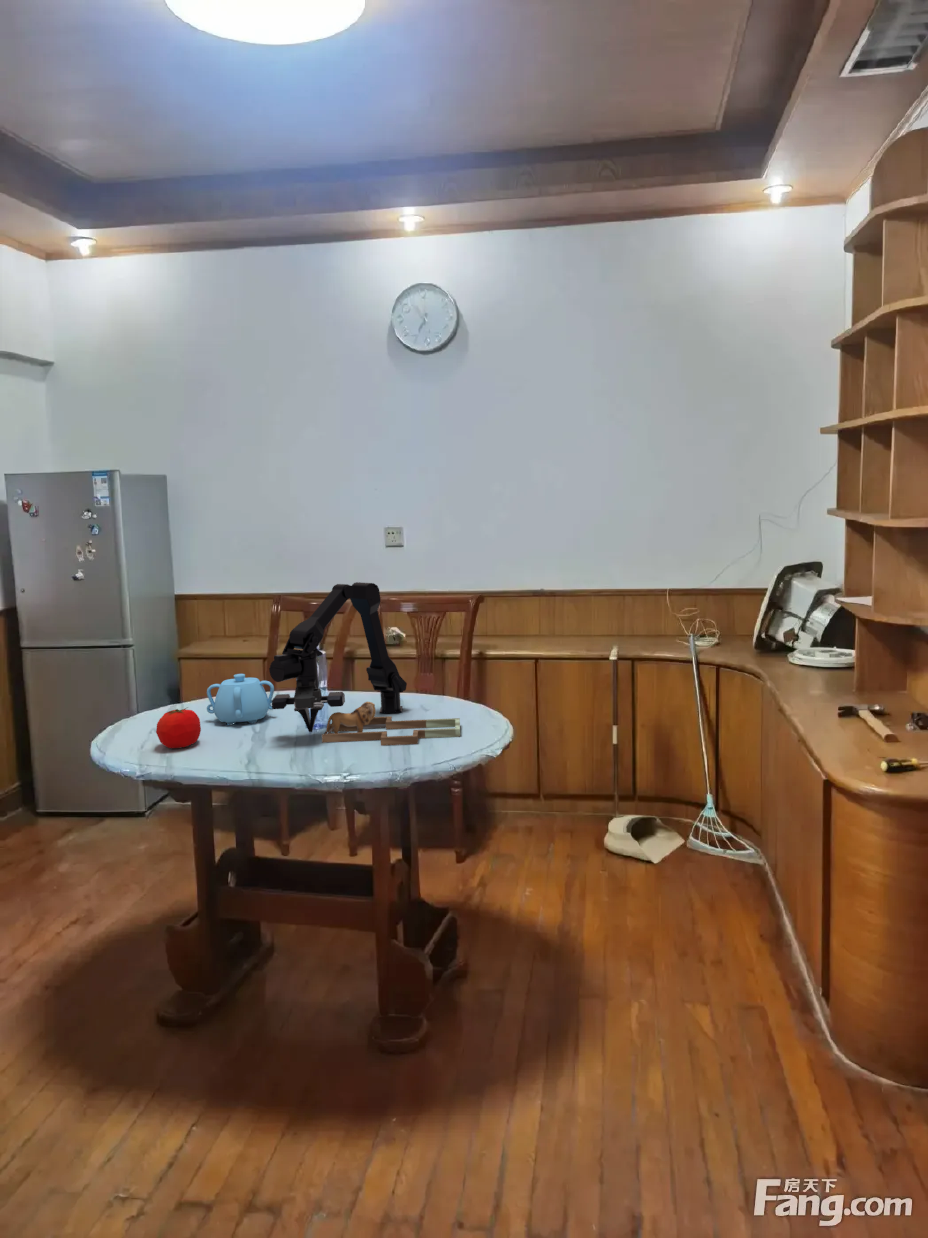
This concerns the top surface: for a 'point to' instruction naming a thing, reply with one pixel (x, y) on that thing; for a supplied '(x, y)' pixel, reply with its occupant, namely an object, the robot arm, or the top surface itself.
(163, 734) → the tomato
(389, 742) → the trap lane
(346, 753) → the top surface
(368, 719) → the lion figurine
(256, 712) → the decorative pot
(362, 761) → the top surface
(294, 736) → the top surface
